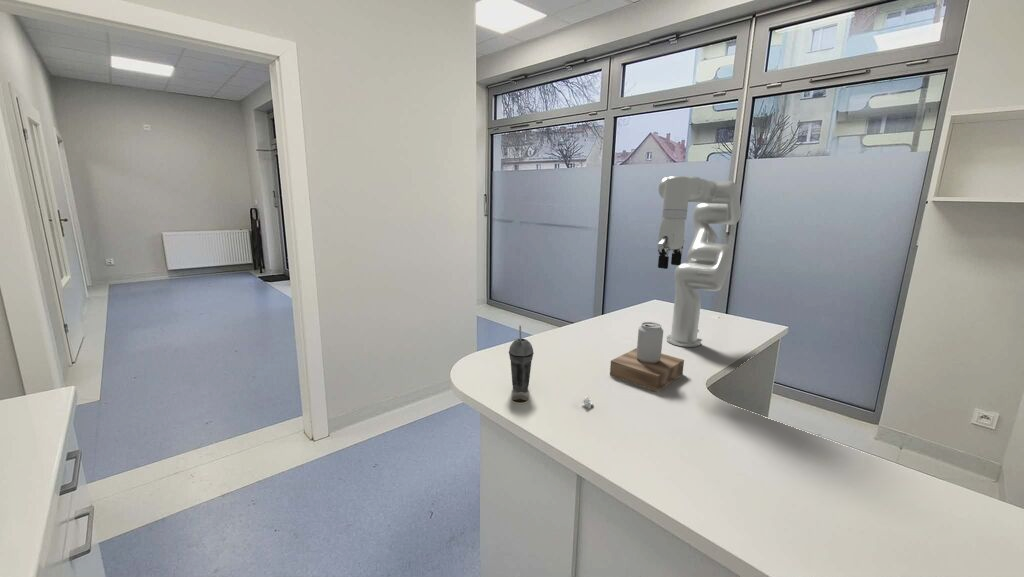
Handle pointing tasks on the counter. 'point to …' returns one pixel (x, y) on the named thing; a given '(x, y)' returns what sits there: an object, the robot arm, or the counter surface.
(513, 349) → the beverage cup
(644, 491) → the counter surface
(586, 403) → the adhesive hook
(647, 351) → the can
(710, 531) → the counter surface
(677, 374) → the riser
